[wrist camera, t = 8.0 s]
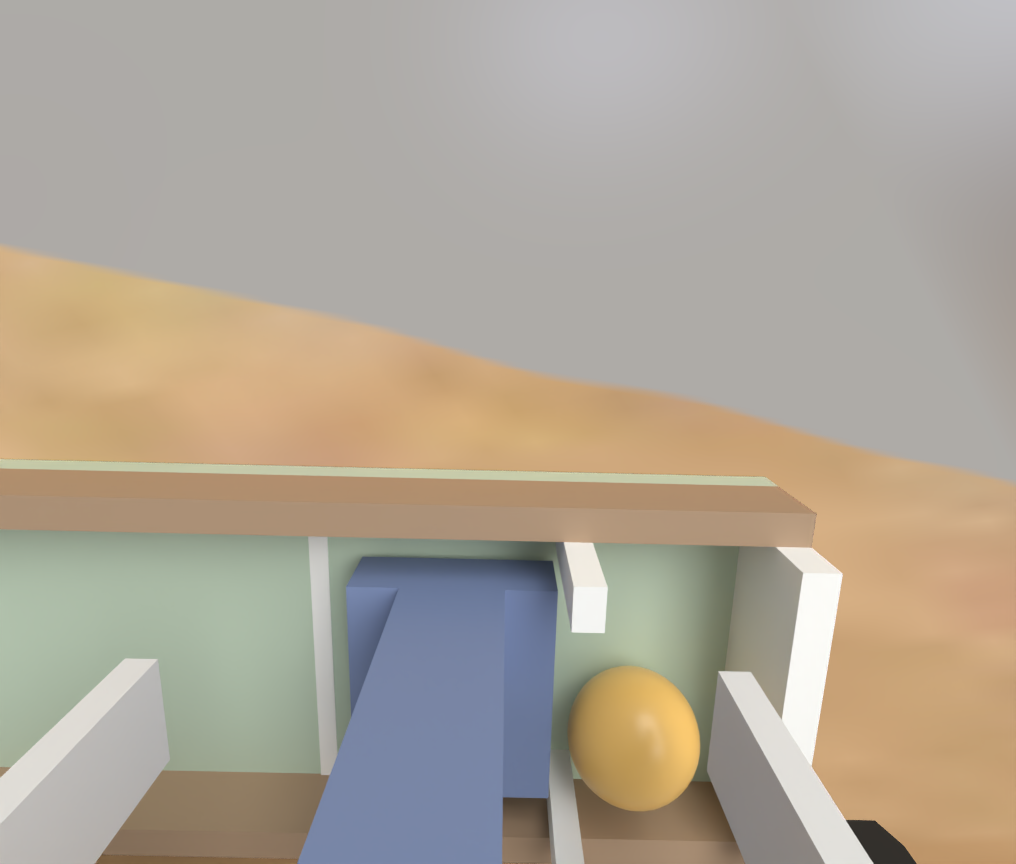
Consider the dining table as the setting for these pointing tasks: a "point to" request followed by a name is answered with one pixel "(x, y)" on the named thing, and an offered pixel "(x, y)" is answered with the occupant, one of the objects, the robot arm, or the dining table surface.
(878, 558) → the dining table surface
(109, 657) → the pitch
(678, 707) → the ball
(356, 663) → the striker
